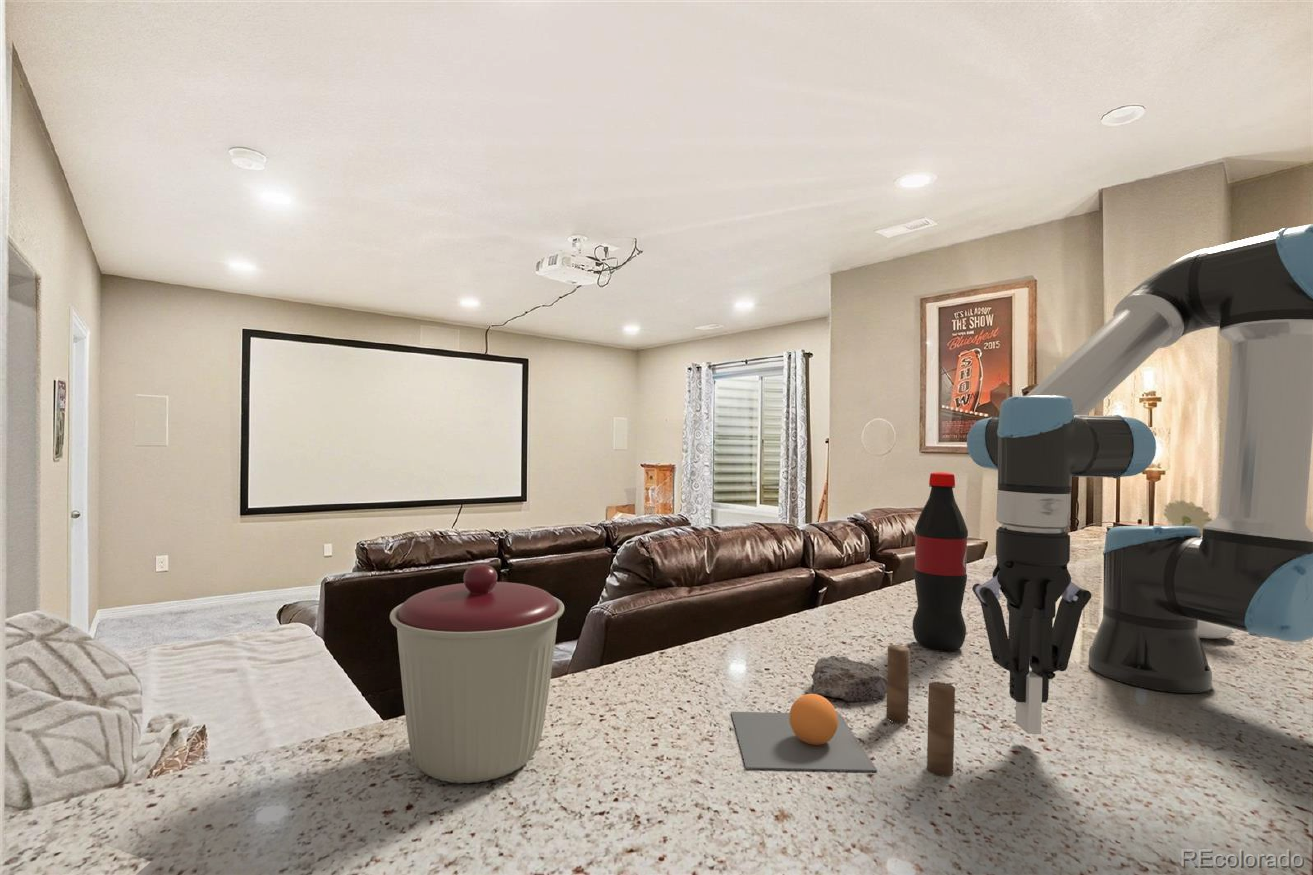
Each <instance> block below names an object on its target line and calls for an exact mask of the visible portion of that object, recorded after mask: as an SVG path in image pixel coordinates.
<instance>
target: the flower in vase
mask: <svg viewBox="0 0 1313 875" xmlns="http://www.w3.org/2000/svg"><path fill="white" fill-rule="evenodd" d="M1164 507H1165V508H1164V509H1163V510H1164V513H1163V516H1164V517H1165V518H1166V519H1167V521H1168V523H1169V524H1171V526H1193V527H1194V526H1195V527H1197V528H1199V531H1200V533H1201V536H1202V534H1203V526H1204V525H1205V524H1207V523H1209V522H1210V521H1212V520H1213V519H1212V517H1210V513H1209V512H1208V511H1206V510H1204V508H1203V506H1202V507H1201V506H1196V504H1195V502H1192V501H1189V502H1186V501H1185V500H1184V499H1181V500H1175V501H1174V502H1168V504H1165V506H1164ZM1197 628H1198V635H1199V638H1200V639H1212V640H1213V639H1224V638H1229V637H1230V636H1231V635H1232V634H1233V633H1234V632H1233V630H1232V629H1233V628H1229V627H1225V626H1221V625H1217V624H1213V623H1209V622H1205V621H1200V620H1198V626H1197Z"/></svg>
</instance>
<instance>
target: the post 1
mask: <svg viewBox="0 0 1313 875" xmlns="http://www.w3.org/2000/svg"><path fill="white" fill-rule="evenodd" d="M910 653H911V652H910V648H909V647H907V646H904V645H900V644H890V645H888V646H887V672H886V681H887V693H886V711H885V712H886V714H885V715H886V716H885V717H886V719H887V720H888V719H889V720H891V721H893V722H892V723H894V724H900V723H902V724H907V723H908V722H909V698H910V697H909V696H910V694H909V693H910V692H909V691H910ZM889 720H888V721H889ZM891 721H890V722H891Z"/></svg>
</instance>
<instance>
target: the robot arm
mask: <svg viewBox="0 0 1313 875" xmlns="http://www.w3.org/2000/svg"><path fill="white" fill-rule="evenodd" d="M1112 313H1113V315H1112V317H1111V318H1110V319H1109V320H1108V321H1107V322H1106V323H1105V324H1104V325H1102V326H1101V327H1100V328H1099V329H1098V330H1097V331H1095V333H1094V334H1092V336H1090V337H1089V338H1088V339H1087V340H1086V341H1085V342H1083V343H1082V344H1081V345H1080V346H1079V347H1078V348H1077V349H1076V350H1075V351H1073V353H1072V354H1071V355H1070V356H1068V357H1067V358H1066V359H1064V361H1063V362H1061V363H1060V364H1059V365H1058V366H1057V367H1056V368H1055V369H1054V370H1052V372H1051V373H1049V374H1048V375H1047V376H1046V377H1044V378H1043V380H1041V382H1039V383H1038V384H1037V385H1036V386H1035V387H1034V388H1032V390H1030V391H1029V393H1027V394H1025V395H1017V396H1010V397H1007V398H1005V399H1004V400H1003V401H1002V402H1001V404H1000V410H999V415H998V416H990V417H988V418H982V419H979V420H977V421H976V422H975V423H974V424H973V425H972V426H971V428H970V429H969V431H968V433H967V437H966V446H967V452H968V455H969V457H970V459H971V460H972V461H973V462H974V463H975V465H978V466H979V467H981V468H984V469H989V470H996V471H997V492H996V493H997V494H996V518H995V519H996V522H998V523H999V524H1000V525H1001V526H999V527H998V528H997V529H996V530H995V533H996V534H995V556H996V557H995V558H996V565H995V568H994V569H993V571H992V576H991V579H989V580H987V581H986V582H984V583H982V584H980V583H975V584H974V585H972V592H973V593H974V595H975V597H976V598H977V600H978V601H979V603H980V606H981V607H980V608H981V612H982V615H983V620H984V626H985V629H986V634H987V637H988V642H989V647H990V651H991V656H992V657H991V658H992V661H993V662H994V663H995V664H997V665H998V666H1000V667H1001V668H1003V669H1004V670H1006V671H1009V695H1010V698H1011V699H1013V700H1014V701H1015V718H1014V719H1015V722H1014V724H1015V725H1017V727H1019V728H1020V729H1021V730H1023V731H1024V732H1025V733H1026V734H1028V735H1042V709H1043V708H1042V703H1044V704H1046V703H1048V700H1049V691H1050V689H1049V687H1050V684H1049V682H1050V680H1053V679H1054V678H1055V677H1056V673H1055V672H1057V671H1058V672H1065V671H1066V670H1067V668H1068V665H1069V661H1070V658H1071V654H1072V650H1073V646H1074V644H1075V639H1076V636H1077V632H1078V628H1079V625H1080V624H1079V623H1080V620H1081V617H1082V612H1083V611H1084V608H1085V607H1086V606H1087V605H1088V603H1089V601H1090V600H1091V599H1092V593H1091V591H1090V590H1088V589H1085V588H1082V587H1080V586H1078V585H1077V584H1075V583H1074V582H1072V576H1071V574H1070V572H1069V569H1068V565H1069V563H1070V558H1071V556H1070V555H1071V535H1070V534H1069V533H1068V532H1067V531H1065V529H1067V528H1069V527H1070V526H1071V500H1072V498H1071V496H1072V494H1071V493H1072V478H1075V477H1077V478H1108V479H1109V478H1113V479H1120V478H1124V477H1133V476H1137V475H1140V474H1141V473H1143V472H1144V471H1146V470H1147V469H1148V468H1149V467H1150V466H1151V464H1152V463H1153V461H1154V459H1155V457H1156V451H1157V442H1156V437H1155V435H1154V432H1153V431H1152V429H1151V428H1150V427H1149V426H1148V425H1147V424H1146V423H1145V422H1143V421H1142V420H1139V419H1137V418H1133V417H1127V416H1122V415H1120V414H1116V415H1115V414H1114V415H1089V414H1090V412H1092V411H1093V410H1094V409H1095V408H1096V407H1097V406H1098V405H1099V404H1100V403H1101V402H1103V400H1104V399H1106V398H1107V397H1108V396H1109V395H1110V394H1111V393H1112V392H1113V391H1114V390H1116V389H1117V387H1119V385H1121V383H1123V382H1124V381H1125V380H1126V379H1127V378H1128V377H1130V375H1131V374H1133V372H1134V371H1136V370H1137V369H1138V368H1139V367H1140V366H1141V365H1142V364H1143V363H1144V362H1145V361H1147V359H1149V357H1151V356H1152V355H1153V354H1154V353H1155V352H1156V351H1158V350H1159V349H1165V348H1167V347H1168V348H1169V347H1170V346H1172V345H1174V344H1175V343H1176V342H1178V341H1179V340H1180V339H1181V338H1182V337H1184V336H1185V335H1187V334H1191V333H1193V332H1197V331H1200V330H1204V329H1209V328H1215V327H1219V330H1218V332H1219V335H1220V336H1221V337H1223V338H1224V339H1225V340H1226V341H1228V342H1229V343H1230V344H1231V355H1230V356H1231V357H1230V358H1231V359H1230V366H1229V367H1230V368H1229V369H1230V370H1229V371H1230V372H1229V382H1228V395H1227V405H1226V418H1225V432H1224V442H1223V452H1222V453H1223V454H1222V455H1223V456H1222V465H1221V466H1222V469H1221V481H1220V493H1219V504H1218V515H1217V516H1216V517H1215V518H1213V519H1212V521H1210V522H1209V523H1207V524H1205V525H1204V526H1203V534H1202V535H1201V533H1200V531H1199V528H1197V527H1195V526H1194V527H1193V526H1172V525H1126V526H1125V525H1123V526H1121V525H1120V526H1119V525H1118V526H1114V527H1112V528H1110V529H1108V531H1107V532H1106V534H1105V541H1104V549H1103V551H1102V556H1103V585H1102V586H1103V587H1102V588H1103V593H1102V594H1103V599H1102V601H1103V604H1102V605H1103V606H1102V609H1103V610H1102V620H1101V622H1100V623H1099V626H1098V629H1097V631H1096V633H1095V636H1094V637H1093V638H1094V639H1093V641H1092V644H1091V646H1090V647H1089V650H1088V666H1089V667H1090V668H1091V669H1092V670H1093V671H1095V672H1096V673H1098V674H1100V675H1102V676H1104V677H1107V678H1108V679H1111V678H1112V680H1115V681H1118V682H1121V683H1123V682H1124V684H1128V685H1131V686H1135V687H1139V688H1143V687H1144V688H1145V689H1148V690H1153V691H1154V690H1155V691H1161V692H1166V691H1168V693H1176V694H1177V693H1178V694H1199V693H1200V694H1201V693H1205V692H1206V693H1207V692H1208V691H1210V690H1211V689H1212V687H1213V685H1212V684H1213V672H1212V669H1211V667H1210V665H1209V662H1208V658H1207V655H1206V652H1205V649H1204V647H1203V644H1202V641H1201V638H1199V635H1198V628H1197V626H1198V620H1200V621H1205V622H1209V623H1213V624H1217V625H1221V626H1225V627H1229V628H1231V629H1233V630H1237V631H1241V632H1244V633H1249V634H1251V635H1252V636H1254V637H1258V638H1270V639H1273V640H1279V641H1283V642H1288V643H1291V642H1292V643H1299V642H1304V641H1305V642H1306V641H1307V640H1310V639H1313V531H1312V529H1310V528H1309V527H1308V526H1307V524H1306V521H1307V519H1306V518H1307V508H1308V496H1309V495H1308V494H1309V482H1310V470H1311V457H1312V445H1313V223H1310V224H1306V225H1300V226H1296V227H1290V226H1289V227H1284V228H1281V229H1279V230H1277V231H1274V232H1268V233H1265V234H1261V235H1256V236H1252V237H1248V238H1245V239H1241V240H1240V239H1239V240H1236V241H1231V242H1228V243H1225V244H1224V243H1223V244H1220V245H1217V246H1210V247H1206V248H1202V249H1199V250H1195V251H1193V252H1191V253H1189V254H1186V255H1184V256H1182V257H1180V258H1178V259H1176V260H1174V261H1173V262H1171V263H1169V264H1167V265H1165V266H1164V267H1162V268H1161V269H1160V270H1158V271H1157V272H1155V273H1154V274H1152V275H1151V276H1150V277H1148V278H1147V279H1145V280H1144V281H1142V282H1141V283H1140V284H1138V286H1136V287H1135V288H1133V289H1132V290H1131V291H1130V292H1129V293H1127V294H1126V295H1125V296H1124V297H1123V298H1122V299H1121V300H1120V301H1119V302H1118V303H1117V305H1115V307H1114V310H1113V312H1112ZM1000 592H1001V593H1002V594H1003V596H1004V597H1005V599H1006V609H1007V611H1008V631H1007V627H1006V622H1005V619H1004V618H1005V617H1004V614H1003V609H1002V606H1001V603H1000V602H999V600H1000V599H1001V594H1000ZM1060 598H1061V599H1060ZM1059 599H1060V601H1059V603H1058V607H1057V610H1056V606H1057V605H1056V604H1057V602H1058V600H1059ZM1144 688H1143V689H1144ZM1169 691H1170V692H1169Z"/></svg>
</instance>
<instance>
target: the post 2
mask: <svg viewBox="0 0 1313 875" xmlns="http://www.w3.org/2000/svg"><path fill="white" fill-rule="evenodd" d="M927 699H928V700H927V701H928V702H927V744H926V745H927V746H926V748H927V751H926V769H927V771H929V772H930V773H932V774H933V775H936V776H940V777H951V776H952V775H953V774H954V759H955V758H954V753H955V752H954V749H955V706H956V704H955V703H956V687H955V686H954V685H952V684H950V683H946V682H942V681H932V682H929V683H928V698H927Z"/></svg>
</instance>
